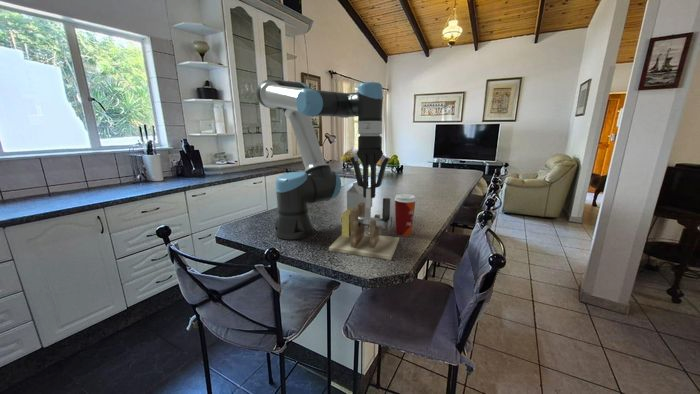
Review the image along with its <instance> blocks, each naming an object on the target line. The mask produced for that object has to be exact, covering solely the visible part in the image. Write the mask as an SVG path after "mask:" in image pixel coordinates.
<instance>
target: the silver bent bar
mask: <svg viewBox="0 0 700 394" xmlns="http://www.w3.org/2000/svg"><path fill="white" fill-rule="evenodd" d="M371 220H376V227H380V228H385V229H387V231H391V230H392V225H393V218H392V216H391V198H388V197H384V198H382V218H381V217H380V218H374V217H363V216H359V221H358V225H365V226H368V227H370V221H371ZM340 222H341V223H342V216H341V217H340ZM350 224H351V218H350Z"/></svg>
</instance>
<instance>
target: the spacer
mask: <svg viewBox="0 0 700 394" xmlns="http://www.w3.org/2000/svg"><path fill="white" fill-rule="evenodd" d="M352 209H354V208H349V209H348V210H347V209H346V210H344V212H343V213H342V214H341V217H342V222H341V235H342V237H350V236H351V224H350V218H351V210H352Z"/></svg>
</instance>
